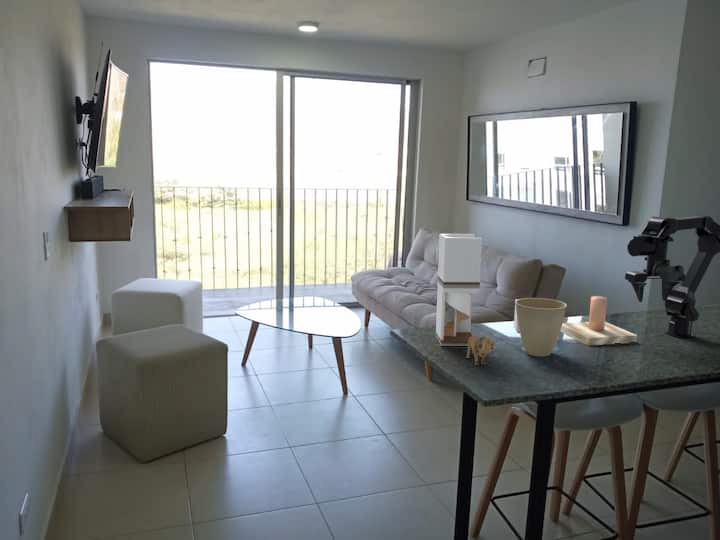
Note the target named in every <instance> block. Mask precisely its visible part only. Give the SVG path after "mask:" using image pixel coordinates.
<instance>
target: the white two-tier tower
mask: <svg viewBox="0 0 720 540" xmlns="http://www.w3.org/2000/svg"><path fill="white" fill-rule="evenodd" d="M438 236H439V237H438V238H439V241H438V262H437V263H438V268H437V293H436V294H437V295H436V316H435V317H436V320H435V339H436V338H437V339H438V341H439V342H438V341H437V342H438V343H440V344H439V346H440V345H441V346H468V340H469V338H470V337H472V336H474V335H473V334H472V333H471V326H472V324H471V321H472V307H473V306H472V304H473V303H472V302H473V301H472V300H473V294H475V293H476V294H479V293H480V289H481V287H480V286H481V267H482V252H483V247H482V246H483V238H482V237H476V234H475V233H439V235H438ZM437 339H436V340H437ZM441 346H440V347H441Z"/></svg>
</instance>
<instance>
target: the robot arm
mask: <svg viewBox="0 0 720 540" xmlns="http://www.w3.org/2000/svg"><path fill="white" fill-rule="evenodd" d="M694 229H695V230H694ZM682 230H683V231H684V230H685V231H686V230H694V233H695V235H696V236H697V237H698V239H697V241H696V243H697V252H696V254H695V256H694V258H693V260H692V262H691V264H690V266H689V267H688V269H687V271H686V273H684V266H682V265H671V261H670V259H669V258H668V250H669V243H670V242H671V243H673V242H674V238H673V237H672V236H671V235H673V234H675V233H677V232H678V231H682ZM627 252H628V254H629V256H632V257H644V259H643V260H644V261H646V268H643V271H642V272H641V271H638V270H628V271H626V273H625V275H624V280H627V282H628V283H630V284H631V286H632V288H633V291H634V292H635V295H636V298H637V300H638V302H639V303H642V302H643V299H644V289H645V287H646V286H647V284H648V283H647V282H646V281H647V280H650V279H651V280H657V279H658V280H661V298H662V301H664V306H665V312H666V316H668V317H669V316H670V319H669V320H670V321H669V322H668V330H667V331H665V333H666V334H668V335H670V336H673V337H676V338H679V339H682V338H694V337H696V336H695V335H694V334H692V329H693V322H695V321H698V320H699V316H700V314H699V312H698V310H697V309H696V308H695V305H696V303H697V301H696V294H695V293H696V292H697V290H698V287H699V285H700V284H701V281H702V280H703V278H704V276H705V274H706V272H707V270H708V268H709V267H710V264H711V263H712V260H713V258H714V257H715V256H716V255H717V254H719V253H720V224H719V223H717V222H715V220H714V219H713V217H712V216H710V215H702V214H700V215H699V214H697V215H694V216H693V215H692V216H684V217H682V216H681V217H674V218H673V217H664V216H651V217H649V220H648V221H647V223H646V224H645V226H644V227H643V228H642V230H641V232H640V233H639V235H638V234H637V235H635V234H634V235H633V237H632V239H631V240H630V241H629V242H628V244H627ZM678 284H680V286H679V287H677V288H676V289H674V287H675V286H677V285H678Z"/></svg>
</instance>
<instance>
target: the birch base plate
mask: <svg viewBox="0 0 720 540" xmlns="http://www.w3.org/2000/svg"><path fill="white" fill-rule="evenodd" d="M560 333H562V334H565V335H567V336H569V337H570V338H572V339H574V340H576V341H578V342H579V343H582V344H584V345H585V344H586V345H585V346H587V345H588V346H599V345H602V346H603V345H604V344H605V345H616V344H615V343H621V344H631V343H630V342H636V343H637V339H638V335H637V334H635V333H633V332H630V331H628V330H626V329H624V328H621V327H619V326H616V325H614V324H611V323H609V322H607V321H605V327H604V331H593V330H590V329H589V321H580V322H578V321H575V322H563V323H562V327H561V330H560Z"/></svg>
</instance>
